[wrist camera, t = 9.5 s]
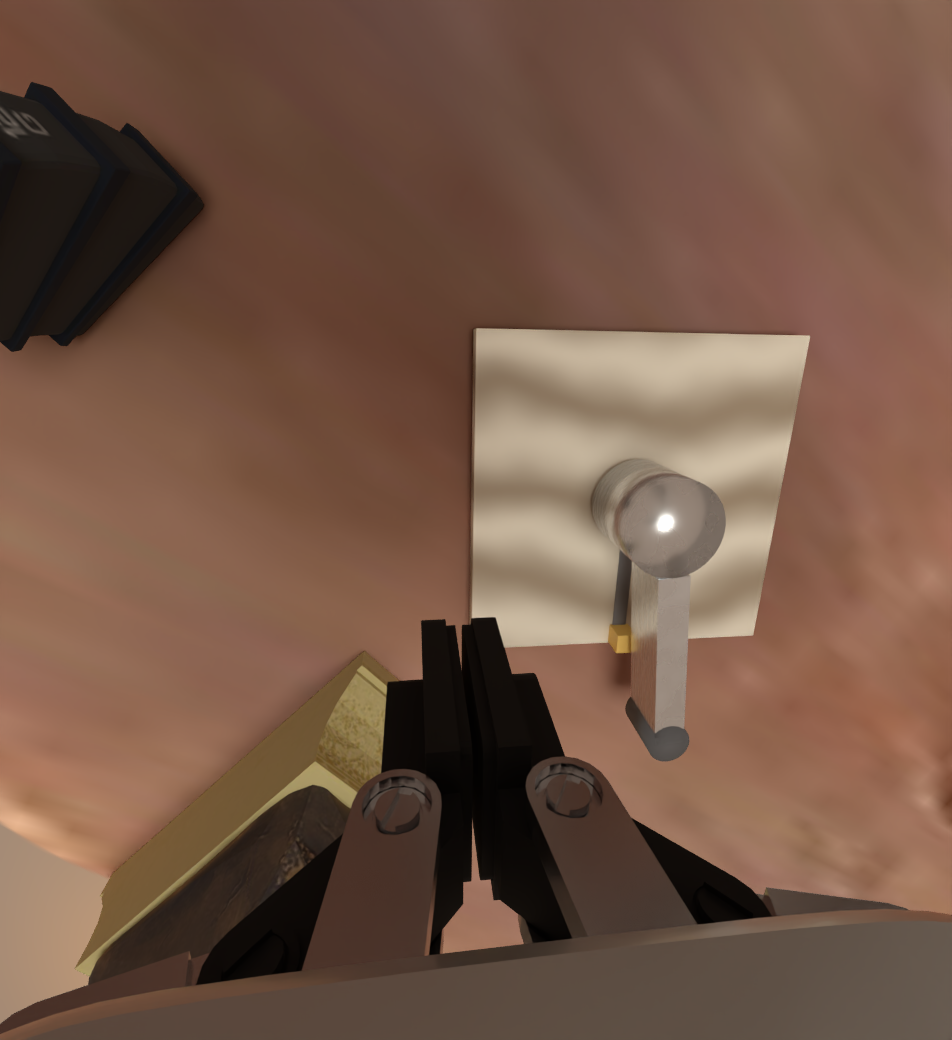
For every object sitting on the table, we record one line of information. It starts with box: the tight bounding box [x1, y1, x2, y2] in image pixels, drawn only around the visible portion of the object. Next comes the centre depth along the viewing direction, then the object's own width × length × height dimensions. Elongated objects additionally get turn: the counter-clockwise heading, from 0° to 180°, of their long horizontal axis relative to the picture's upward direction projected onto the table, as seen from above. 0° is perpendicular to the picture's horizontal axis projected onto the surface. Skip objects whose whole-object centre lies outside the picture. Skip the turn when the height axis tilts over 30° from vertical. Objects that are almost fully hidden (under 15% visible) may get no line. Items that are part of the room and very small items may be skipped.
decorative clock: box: [75, 651, 399, 985], centre depth 29 cm, size 28×13×30 cm, turn 132°
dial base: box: [469, 328, 810, 653], centre depth 37 cm, size 22×22×3 cm
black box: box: [0, 82, 204, 352], centre depth 25 cm, size 4×13×15 cm, turn 131°
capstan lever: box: [592, 459, 726, 761], centre depth 36 cm, size 19×6×6 cm, turn 5°
